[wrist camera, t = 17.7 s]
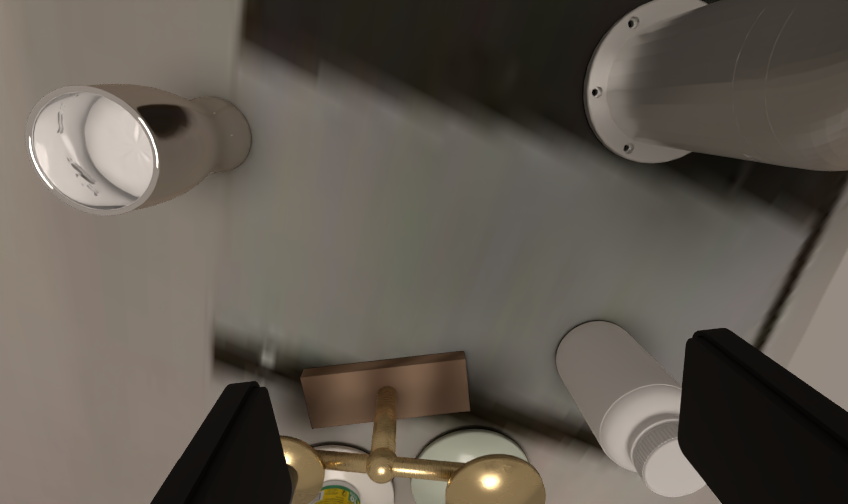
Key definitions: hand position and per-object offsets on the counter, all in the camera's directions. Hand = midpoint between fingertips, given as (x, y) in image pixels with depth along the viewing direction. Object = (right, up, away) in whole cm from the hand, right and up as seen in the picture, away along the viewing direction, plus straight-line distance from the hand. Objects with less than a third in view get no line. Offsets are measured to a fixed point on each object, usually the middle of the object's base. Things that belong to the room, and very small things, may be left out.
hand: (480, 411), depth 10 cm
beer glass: (-19, +13, +27) cm, 35 cm away
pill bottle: (+16, -7, +35) cm, 39 cm away
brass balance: (-5, -10, +35) cm, 37 cm away
